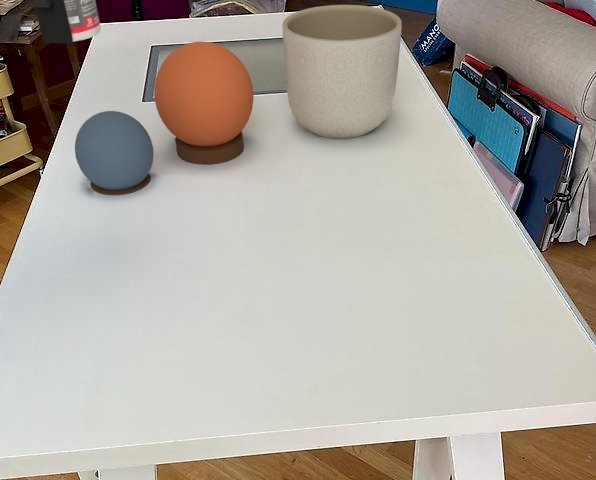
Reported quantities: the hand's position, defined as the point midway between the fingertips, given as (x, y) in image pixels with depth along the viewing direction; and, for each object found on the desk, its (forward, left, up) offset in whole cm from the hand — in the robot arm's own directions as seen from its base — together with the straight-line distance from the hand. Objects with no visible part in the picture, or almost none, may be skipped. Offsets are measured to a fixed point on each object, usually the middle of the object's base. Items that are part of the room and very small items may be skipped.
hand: (72, 31), depth 71 cm
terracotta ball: (+3, +29, -25) cm, 38 cm away
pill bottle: (0, 0, -1) cm, 1 cm away
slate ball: (-5, +14, -25) cm, 29 cm away
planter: (+21, +40, -25) cm, 52 cm away
